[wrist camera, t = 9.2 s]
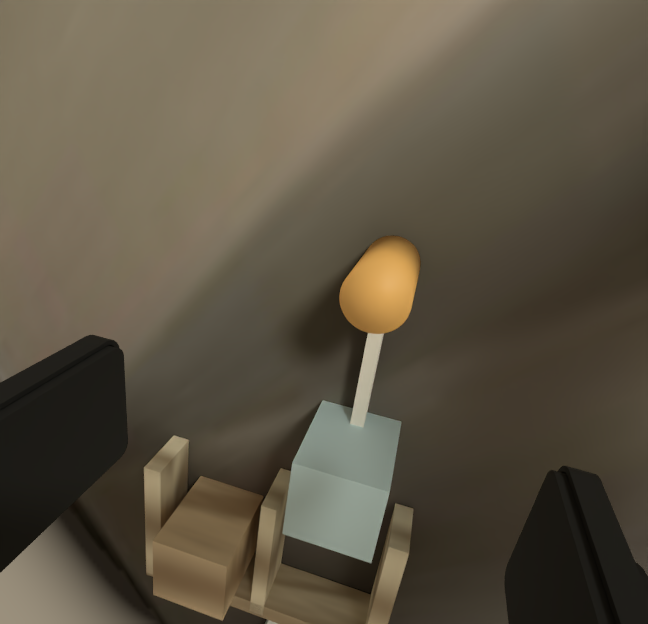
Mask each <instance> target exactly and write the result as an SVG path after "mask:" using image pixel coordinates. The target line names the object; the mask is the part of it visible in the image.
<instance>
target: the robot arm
mask: <svg viewBox="0 0 648 624" xmlns="http://www.w3.org/2000/svg"><path fill="white" fill-rule="evenodd" d="M127 444H128V434H127V413H126V392H125V371H124V355H123V351H122V350H121V349H119V345H118V344H117V342H115V341H114V340H110V339H106V338H103V337H99V336H96V335H89V336H86V337H84V338H82V339H80V340H78V341H77V342H75V343H73V344H71V345H69V346H67V347H66V348H64V349H62V350H60V351H58V352H56V353H54V354H53V355H51V356H49V357H47V358H45V359H43V360H42V361H40V362H38V363H36V364H34V365H32V366H30V367H29V368H27V369H25V370H23V371H21V372H19V373H18V374H16V375H14V376H12V377H10V378H8V379H6V380H5V381H3V382H1V383H0V572H2V571H3V569H5V568H6V567H7V566H8V565H9V564H10V563H11V562H12V561H13V560H14V559H15V558H16V557H17V556H18V555H19V554H20V553H21V552H22V551H23V550H24V549H26V548H27V546H28V545H30V544H31V543H32V542H33V541H34V540H35V539H36V538H37V537H38V536H39V535H40V534H41V533H42V532H43V531H44V530H45V529H46V528H47V527H48V526H50V525H51V523H53V522H54V521H55V520H56V519H57V518H58V517H59V516H60V515H61V514H62V513H63V512H64V511H65V510H66V509H67V508H68V507H69V506H70V505H71V504H72V503H74V502H75V501H76V500H77V499H78V498H79V497H80V496H81V495H82V494H83V493H84V492H85V491H86V490H87V489H88V488H89V487H90V486H91V485H92V484H93V483H94V482H95V481H96V480H98V479H99V478H100V477H101V476H102V475H103V474H104V473H105V472H106V471H107V470H108V469H109V468H110V467H111V466H112V465H113V464H114V463H115V462H116V461H117V460H118V459H119V458H120V457H121V456H122V455H123V454H124V452H125V450H126V448H127ZM505 593H506V602H507V612H508V621H509V624H648V576H647V575H646V573H645V571H644V569H643V568H642V567H641V566H640V565H638V564H637V563H635V561H634V559H633V556H632V554H631V551H630V549H629V547H628V544H627V542H626V539H625V537H624V535H623V532H622V530H621V528H620V525H619V523H618V520H617V518H616V516H615V513H614V511H613V508H612V506H611V504H610V501H609V499H608V497H607V494H606V492H605V489H604V487H603V485H602V482H601V480H600V478H599V477H598V476H597V475H596V474H593V473H589V472H586V471H582V470H578V469H575V468H571V467H568V466H562V467H561V468H560V469H559V471H558V472H557V471H553V470H550V471H549V472H548V474H547V475H546V478H545V480H544V482H543V484H542V487H541V489H540V491H539V494H538V496H537V498H536V500H535V503H534V505H533V507H532V510H531V512H530V514H529V516H528V519H527V521H526V523H525V526H524V528H523V530H522V532H521V535H520V537H519V539H518V542H517V544H516V546H515V548H514V551H513V553H512V555H511V557H510V560H509V562H508V565H507V567H506V572H505Z"/></svg>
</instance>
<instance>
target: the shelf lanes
mask: <svg viewBox="0 0 648 624" xmlns="http://www.w3.org/2000/svg"><path fill="white" fill-rule="evenodd" d="M188 453H189V440H187V439H184V438H181V437H177V436H173V437H172V438H171V439H170V440H169V441H168V442H167V443H166V444H165V445H164V446H163V448H162V449H161V450H160V451H159V452H158V453H157V454H156V455H155V456H154V457H153V458H152V459H151V460H150V461H149V463H148V464H147V465H146V466H145V467H144V492H145V535H146V574H147V575H149V576H152V577H153V540H154V538H155V537H156V536H157V534H158V533H159V532H160V530H161V529H162V527H163V526H164V525H165V523H166V522H167V521H168V519H169V518H170V517H171V515H172V514H173V512H174V511H175V510H176V508H177V507H178V506H179V504H180V503H181V502H182V500H183V499H184V498H185V496H186V495H187V492H188ZM290 475H291V471H289V470H285V469H282V468H280V470H279V472H278V474H277V476H276V478H275V480H274V482H273V484H272V486H271V488H270V490H269V492H268V494H267V496H266V497H265V499H264V501H263V503H262V505H261V513H260V522H259V531H258V539H257V548H256V554H254V555H253V557H252V559H251V561H250V563H249V565H248V568H247V570H246V572H245V574H244V576H243V578H242V580H241V583H240V585H239V587H238V589H237V591H236V593H235V595H234V597H233V600H232V602H231V604H230V606H232V607H235V608H238V609H240V610H243V611H246V612H248V613H251V614H254V615H256V616H259V617H262V618H264V619H267V620H270V621H272V622H275V623H278V624H388V622H389V618H390V615H391V612H392V609H393V605H394V602H395V599H396V595H397V592H398V589H399V585H400V582H401V579H402V576H403V572H404V569H405V566H406V562H407V559H408V556H409V550H410V540H411V530H412V520H413V508H410V507H406V506H403V505H400V504H397V503H395V506H394V510H393V514H392V517H391V521H390V525H389V529H388V532H387V536H386V540H385V543H384V547H383V551H382V555H381V558H380V562H379V566H378V569H377V573H376V577H375V581H374V584H373V588H372V592H371V594H368V593H365V592H362V591H359V590H357V589H354V588H351V587H348V586H345V585H342V584H339V583H336V582H333V581H331V580H328V579H325V578H322V577H319V576H316V575H313V574H310V573H308V572H305V571H302V570H299V569H296V568H293V567H290V566H287V565H285V564H282V563H281V560H282V554H283V547H284V540H285V535H284V534H282V532H283V525H284V518H285V511H286V503H287V496H288V489H289V482H290Z"/></svg>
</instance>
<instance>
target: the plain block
mask: <svg viewBox="0 0 648 624" xmlns="http://www.w3.org/2000/svg"><path fill="white" fill-rule="evenodd" d="M263 497H264V496H262V495H259V494H256V493H253V492H250V491H247V490H244V489H240V488H237V487H234V486H231V485H228V484H225V483H222V482H219V481H215V480H212V479H209V478H206V477H203V476H200V477H199V479H198V480H197V481H196V483H195V484H194V485H193V487H192V488H191V489H190V491H189V492H188V493H187V495H186V496H185V498H184V499H183V500H182V502H181V503H180V504H179V506H178V507H177V508H176V510H175V511H174V512H173V514H172V515H171V517H170V518H169V519H168V521H167V522H166V523H165V525H164V526H163V527H162V529H161V530H160V532H159V533H158V534H157V536H156V537H155V538H154V540H153V595H155V596H158V597H161V598H163V599H166V600H169V601H171V602H174V603H177V604H179V605H182V606H185V607H187V608H190V609H193V610H195V611H198V612H201V613H203V614H206V615H209V616H211V617H214V618H217V619H219V620H222V621H223V619H224V617H225V615H226V612H227V610H228V608H229V606H230V604H231V602H232V600H233V597H234V595H235V593H236V591H237V589H238V587H239V585H240V583H241V580H242V578H243V576H244V574H245V572H246V570H247V568H248V565H249V563H250V561H251V559H252V557H253V555H254V553H255V550H256V548H257V539H258V531H259V522H260V513H261V505H262V503H263Z"/></svg>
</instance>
